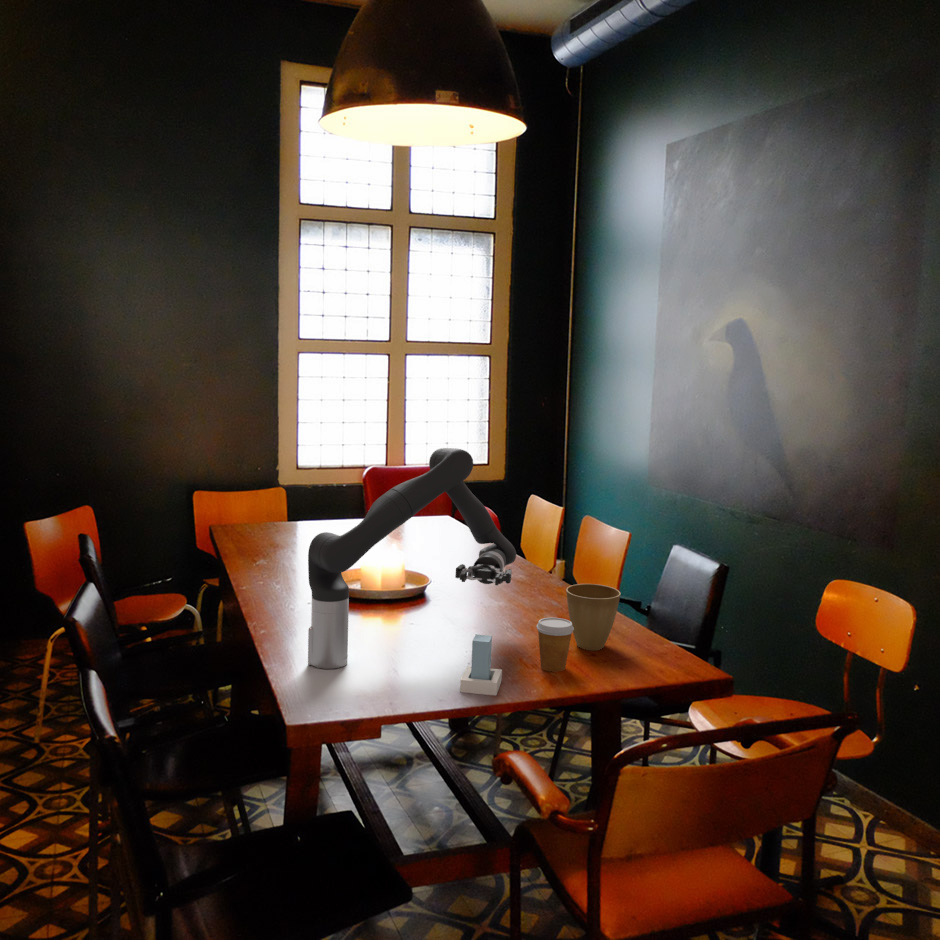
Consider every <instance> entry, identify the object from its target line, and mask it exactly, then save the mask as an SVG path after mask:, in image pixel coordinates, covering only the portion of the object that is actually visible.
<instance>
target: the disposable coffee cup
mask: <svg viewBox="0 0 940 940" xmlns="http://www.w3.org/2000/svg"><path fill="white" fill-rule="evenodd" d="M537 622H538V623H537V624H536V629H537V632H538V646H539V659H540V660H539V661H540V668H541V669H543V670H544V671H546V672H547V671H548V672H551V671H552V672H554V673H555V672H558V671H559V672H563V671H565V670H566V667H567V660H568V656H569V650H570V645H571V639H572V638H571V637H572V634H573V630H574V628H573V626H572V622H571V621H570V619H569V620H568V619H565V618H559V617H544V618H541V619H539V620H538V621H537ZM552 672H551V673H552Z"/></svg>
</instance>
